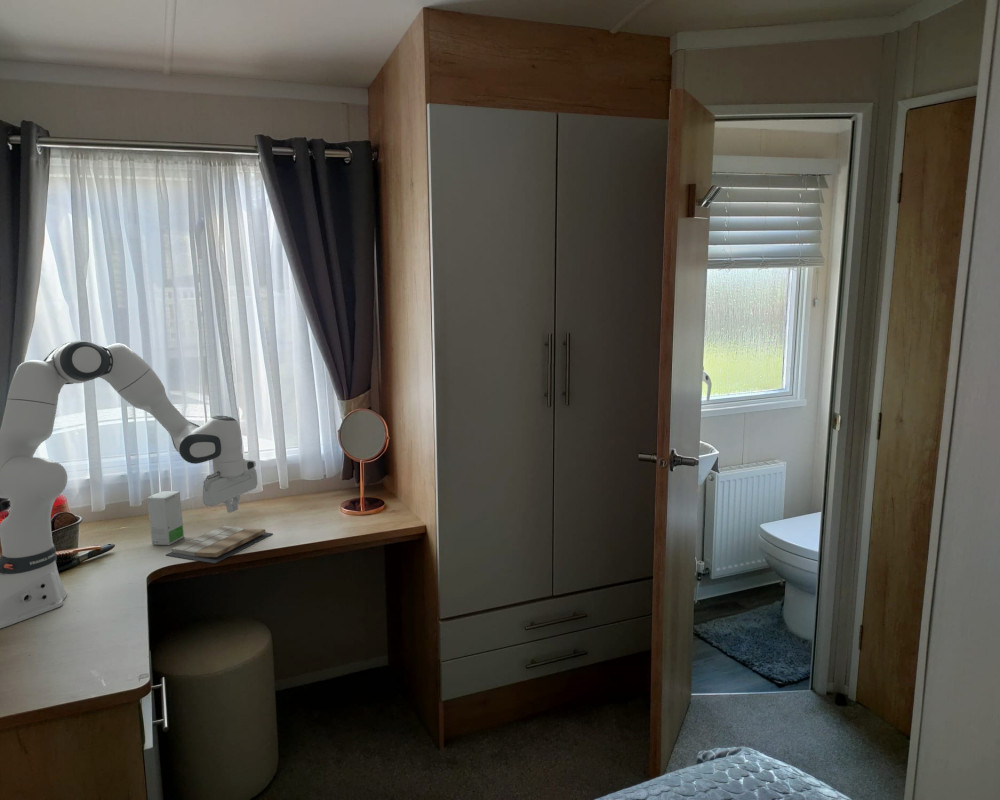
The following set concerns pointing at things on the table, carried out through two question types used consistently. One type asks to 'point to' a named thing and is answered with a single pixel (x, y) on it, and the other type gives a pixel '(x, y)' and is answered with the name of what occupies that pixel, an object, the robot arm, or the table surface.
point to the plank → (230, 543)
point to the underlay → (223, 556)
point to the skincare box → (165, 517)
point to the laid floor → (205, 540)
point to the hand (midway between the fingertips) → (232, 511)
